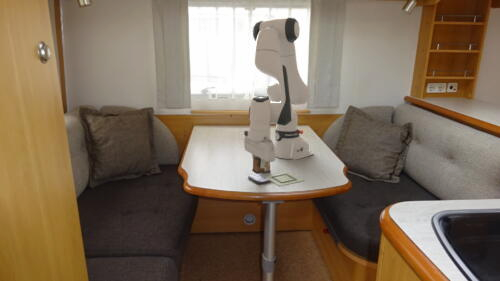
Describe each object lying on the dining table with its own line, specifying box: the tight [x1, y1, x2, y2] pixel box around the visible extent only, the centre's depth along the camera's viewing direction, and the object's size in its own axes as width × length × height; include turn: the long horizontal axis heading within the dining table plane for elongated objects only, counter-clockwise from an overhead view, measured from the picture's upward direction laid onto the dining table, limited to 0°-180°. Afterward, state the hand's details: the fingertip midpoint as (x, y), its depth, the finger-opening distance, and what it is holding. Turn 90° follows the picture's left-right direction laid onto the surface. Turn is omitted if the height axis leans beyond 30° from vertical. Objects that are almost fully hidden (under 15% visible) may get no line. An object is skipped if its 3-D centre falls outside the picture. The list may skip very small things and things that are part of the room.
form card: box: [264, 171, 305, 187], centre depth 162 cm, size 13×12×1 cm
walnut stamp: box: [251, 156, 266, 175], centre depth 157 cm, size 4×4×7 cm
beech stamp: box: [262, 162, 271, 175], centre depth 169 cm, size 4×4×7 cm
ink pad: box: [247, 173, 272, 186], centre depth 159 cm, size 6×9×1 cm, turn 30°
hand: (258, 166), depth 158 cm, fingers closed on walnut stamp, 4 cm apart
